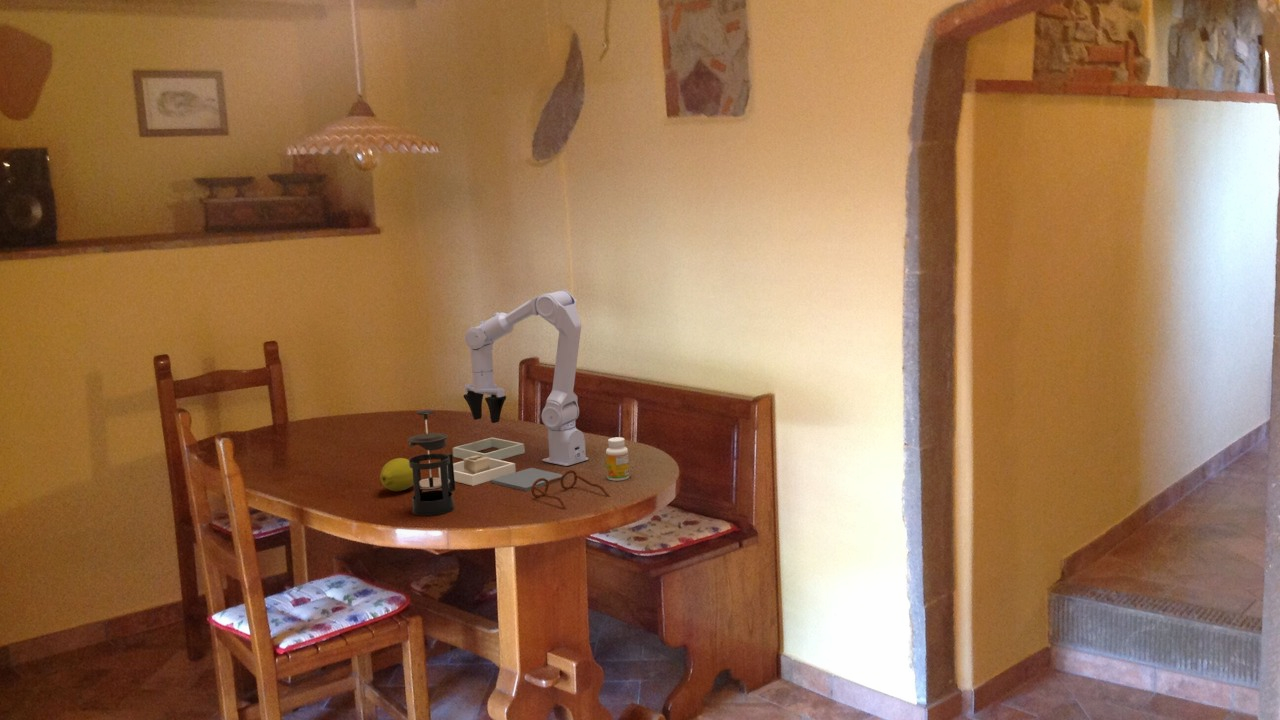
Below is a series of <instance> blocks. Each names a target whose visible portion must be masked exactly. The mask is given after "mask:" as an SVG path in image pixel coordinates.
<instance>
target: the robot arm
mask: <svg viewBox="0 0 1280 720" xmlns="http://www.w3.org/2000/svg"><path fill="white" fill-rule="evenodd" d="M577 304H578V300H577V299H576V298H575V296H573V295H572V293H571V292H570V291H568V290H566V289H560V290H557V291H554V292H549V293H541V295H539V296H536V297H533V298H531V299H529V300H528V301H526V302H524V303H523V304H522V305H519V306H518V307H517V308H515V309H513V310H512V311H510V312H509V313H506V312H494V313H493V314H492V317H491V318H488V319H487V320H482V321H480V322H479V325H478V326H472V327H470V328H469V329H468V330H467V331H466V332H465V334H464V342H465V344H466V345H467V346H468V347H469V352H470V363H471V375H472V378H471V379H472V383H467V384H464V392H465V393H464V394H463V398H464V399H465V401H466V403H467V404H468V407H469V410H470V412H471V416H472V417H473V420H475V421H476V420H481V419H482V417H483V416H482V415H483V413H482V412H483V411H482V408H483V405H482V404H483V398H484V395H487V396H488V397H485V398H484V400H485V402H486V404H487V406H488V410H489V415H490V421H491V424H495V423H499V422H500V419H501V415H502V409H503V406H504V403H505V401H506V399H507V395H506V393H505V388H501V387H499V386H498V384H495V373H494V359H493V357H494V356H493V350H494V348H493V346H494V344H495V342H496V341H498V340H499V339H501V338H503V337H506V335H508V334H510V333H511V332H513V330H514V327H515V325H517V324H518V323H520V322H522V321H524V320H526V319H528V318H530V317H532V316H535V317H536V316H540V317H541V318H543V319H544V320H545V321H546V322H548V323H549V324H551V325H552V326H554V327H555V329H556V330H557V331H558V339H557V348H556V355H555V366H554V373H553V381H552V389H551V392H550V394H549V395H548V396H547V399H546V400H545V401H546V403H545V405H544V407H543V409H542V412H541V422H542V423H543V425H544V426H545V427H546V430H547V439H548V440H547V441H548V443H547V444H548V455H549V456H548V457H547V458H546V457H545V458H542V462H545V463H550V464H555V465H559V466H564V467H567V466H573V465H575V464H578V463H582V462H585V461H588V460H589V457H587V454H586V453H587V452H586V438H585V435H584V432H582V430H579V429H578V428H577V427H576V420H577V419H578V418H579V415H580V407H579V405H578V395H577V394H576V393H575V392H574V387H575V381H576V372H577V366H578V365H577V364H578V356H579V347H580V342H581V341H580V340H581V333H582V331H581V330H582V323H581V319H580V316H579V313H578V309H577Z"/></svg>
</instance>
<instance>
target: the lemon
mask: <svg viewBox="0 0 1280 720" xmlns="http://www.w3.org/2000/svg"><path fill="white" fill-rule="evenodd" d="M379 479H380V481H381V484H382V485H383V487H384V488H385V489H387V490H389V491H392V492H396V493H397V492H402V491H406V490H408V489H409V488H410V487H413V485H412V484H413V483H414V482H413V471H412V468H410V466H409V459H407V458H404V457H397V458H393V459H391V460H389V461H388V462H386V463H385V464H384V465H383V467H382V468H381V470H380V474H379Z"/></svg>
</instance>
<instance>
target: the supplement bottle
mask: <svg viewBox="0 0 1280 720" xmlns="http://www.w3.org/2000/svg"><path fill="white" fill-rule="evenodd" d="M625 444H626V442H625V438H624V437H621V436H620V437H617V436H615V437H611V438H608V440H607V445H608V447H607V448H606V450H605V459H606V476H607V480H610V481H613V482H614V481H617V482H620V481H625V480H628V479H629V478H630V465H629V464H630V461H629V450H628V449H629V448H627V447H626V446H625Z"/></svg>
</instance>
